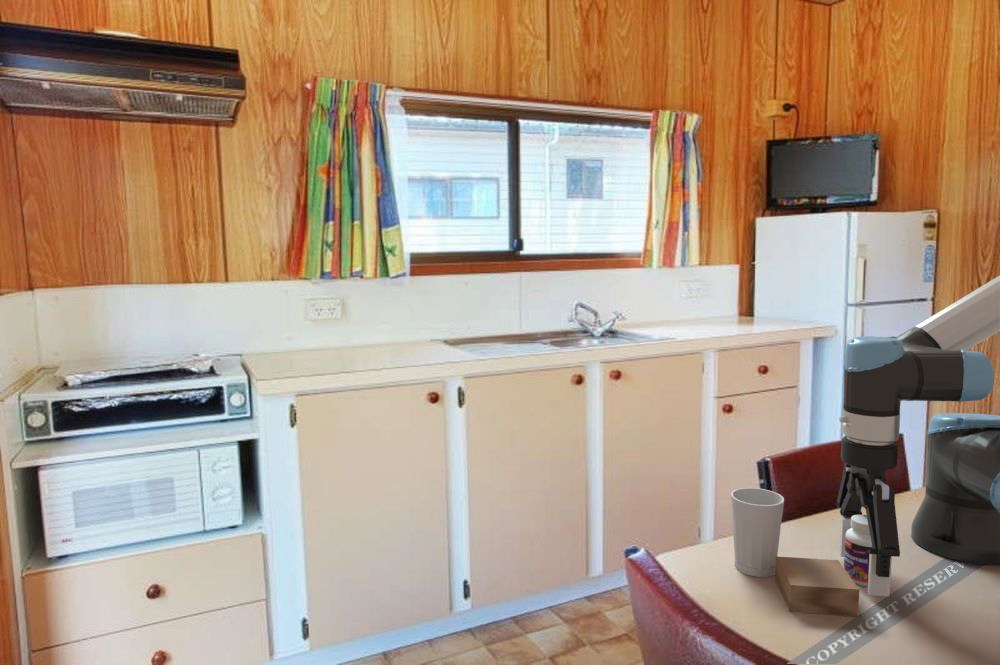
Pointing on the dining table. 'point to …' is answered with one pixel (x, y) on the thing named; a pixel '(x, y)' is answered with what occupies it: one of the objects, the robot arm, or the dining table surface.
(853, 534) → the pill bottle
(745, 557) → the cup
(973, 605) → the dining table surface
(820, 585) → the base
